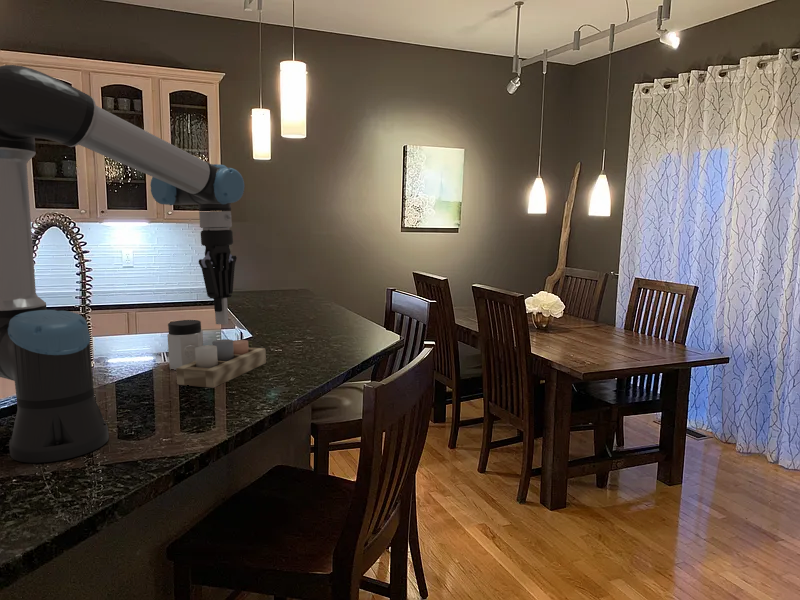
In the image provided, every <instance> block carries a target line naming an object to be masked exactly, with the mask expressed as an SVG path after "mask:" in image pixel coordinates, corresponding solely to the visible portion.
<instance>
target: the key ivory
mask: <svg viewBox="0 0 800 600" xmlns="http://www.w3.org/2000/svg"><path fill="white" fill-rule="evenodd" d="M195 355H196V367H199V368H212V367H215V366H217V365H218V358H217V346H214V345H213V344H211V345H210V344H209V345H207V344H205V345H204V344H203V346H199V347H196V348H195Z"/></svg>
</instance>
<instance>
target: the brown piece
mask: <svg viewBox="0 0 800 600" xmlns="http://www.w3.org/2000/svg"><path fill="white" fill-rule="evenodd" d="M233 349H234V354H238V355H244V354H246V353H248V352H249V340H247V339H234V340H233Z"/></svg>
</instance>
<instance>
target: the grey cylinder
mask: <svg viewBox="0 0 800 600" xmlns="http://www.w3.org/2000/svg"><path fill="white" fill-rule="evenodd" d="M233 341H234V340H233V339H225V338H223V339H216V340H213V341H212V344H211V345H214V346H217V358H218V361H229V360H232V359H234V349H233Z"/></svg>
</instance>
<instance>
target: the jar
mask: <svg viewBox="0 0 800 600" xmlns="http://www.w3.org/2000/svg"><path fill="white" fill-rule="evenodd" d="M167 327H168V328H167V329H168V330H167V331H168V333H167V348H168V350H167V351H168V361H169V363H168V365H169V370H171V369H174V370H173V371H176V368H178V367H181V366H183V365H186V364H189V363H191V362H194V361H196V355H195V348H196V347H199V346H204V334H203V333H204V332H203V330H202V322H201V320H197V319H182V320H173V321H171V322H169V323H168V324H167Z"/></svg>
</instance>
